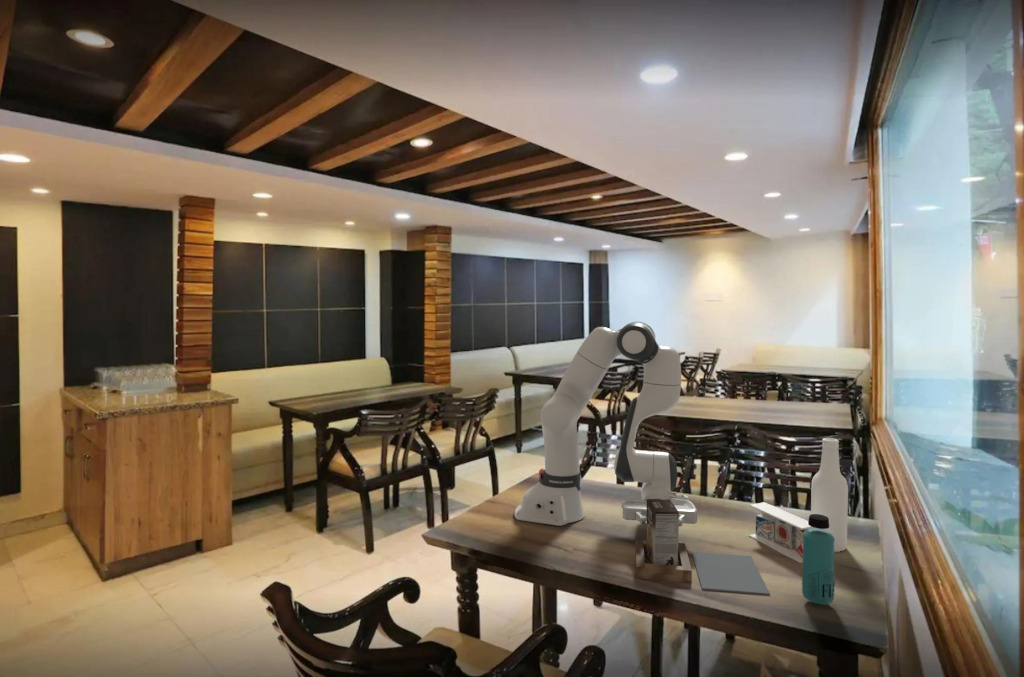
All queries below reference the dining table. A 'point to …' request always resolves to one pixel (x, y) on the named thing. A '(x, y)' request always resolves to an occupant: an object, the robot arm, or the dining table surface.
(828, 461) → the alcohol
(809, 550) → the beverage bottle
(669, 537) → the coffee box
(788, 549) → the cigarette display
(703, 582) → the rubber mat
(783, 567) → the dining table surface
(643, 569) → the walnut cradle
